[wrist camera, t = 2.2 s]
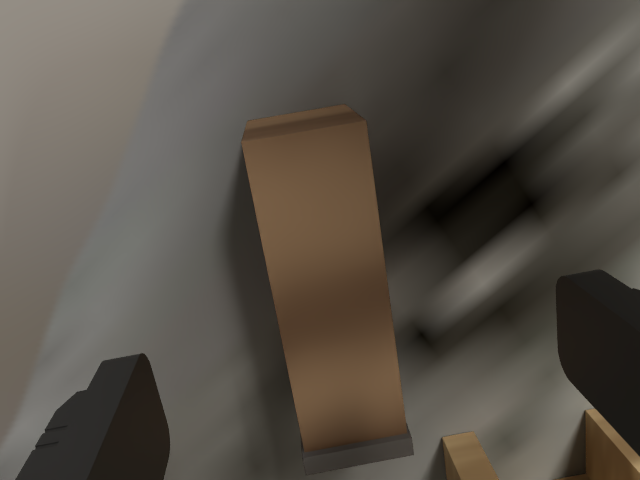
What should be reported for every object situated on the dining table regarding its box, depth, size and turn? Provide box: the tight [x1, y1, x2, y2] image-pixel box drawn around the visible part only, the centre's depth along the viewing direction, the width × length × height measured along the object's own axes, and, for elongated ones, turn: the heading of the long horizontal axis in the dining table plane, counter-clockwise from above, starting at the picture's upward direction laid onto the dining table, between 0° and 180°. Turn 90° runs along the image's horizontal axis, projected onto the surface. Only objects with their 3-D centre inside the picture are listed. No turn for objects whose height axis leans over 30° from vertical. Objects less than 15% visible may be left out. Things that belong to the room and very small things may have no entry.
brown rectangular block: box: [241, 104, 414, 475], centre depth 23 cm, size 13×4×6 cm, turn 9°
